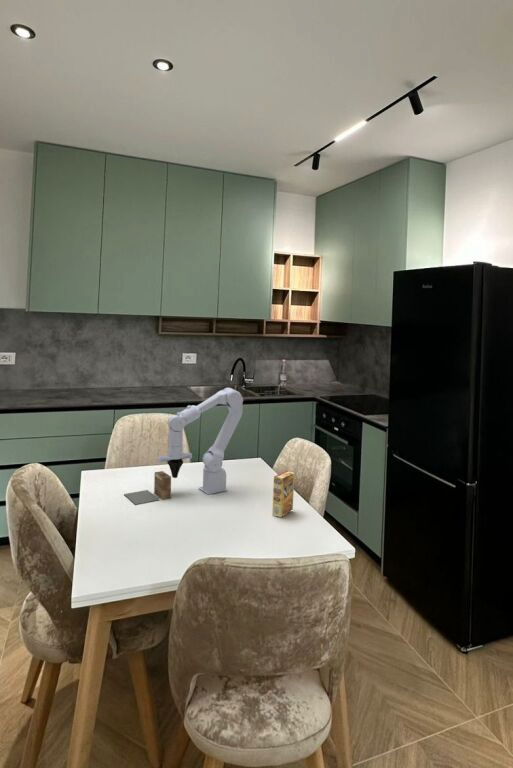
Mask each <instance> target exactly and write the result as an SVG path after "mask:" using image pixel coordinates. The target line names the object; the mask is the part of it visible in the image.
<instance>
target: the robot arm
mask: <svg viewBox="0 0 513 768" xmlns="http://www.w3.org/2000/svg"><path fill="white" fill-rule="evenodd" d="M243 402H244V398H243V396H242V394H241V393H240V392H239V391H238V390H235V389H233V388H232V387H225V388H224V389H221V390H219V391H217V392H216V393H215V394H213V395H211V396H210V397H208V398H207V399H205V400H204V401H202V402H201V403H199V404H197V405H194V404H193V405H190V404H189V405H187V406H186V408H185V409H183V410H182V411H177V413H176V414H173V415H170V417H169V418H168V420H167V421H166V423H167V426H168V447H167V454H165V455H161V456H158V457H157V462H158V463H159V464H161V463H165V462H166V463H167V464H168V466H169V470H170V472H171V478H173V479H177V478H178V476H179V472H180V469H182V466H183V464H184V460H185V459H186V460H187V459H193V453H191V452H183V449H184V448H183V447H184V446H183V445H184V444H183V440H184V434H183V433H184V432H183V430H184V429H185V427H186V426H188V425H189V424H190V423H192V422H194V421H195V420H197V419H199V418H200V417H201V414H202V413H204V412H206V411H207V410H209V409H211V408H213V407H215V406H217V405H226V407H227V409H228V414H227V416H226V418H225V420H224V422H223V425H222V426H221V428H220V431H219V432H218V434H217V436H216V439H215V440H214V443H213V444H212V445H211V446H210V447H209V449H207V451H206V452H205V453H204V454H203V455H202V458H201V459H202V463H203V468H202V469H203V470H202V471H203V472H202V486H198V489H199V490H200V491H202V492H203V493H204V494H207V495H212V494H215V493H221V492H226V491H228V489H227V472H226V469H224V468H223V460H224V459H225V450H226V448H227V446H228V444H229V442H230V440H231V438H232V437H233V433H234V432H235V430H236V428H237V426H238V424H239V422H240V420H241V417H242V416H243V408H244V407H243Z"/></svg>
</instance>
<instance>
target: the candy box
mask: <svg viewBox="0 0 513 768" xmlns="http://www.w3.org/2000/svg"><path fill="white" fill-rule="evenodd" d="M294 487H295V472H294V471H293V472H292V471H288V470H285V471H283V472H280V473H278V474H277V475H276V474H275V476H273V492H272V494H273V495H272V513H271V514H272V516H273V515H275V517H277V516H278V517H277V518H280V517H281V518H283V517H285V516H286V515H288V514H289V513H288V512H290V511H291V510H293V509H294V508H293V507H294ZM287 513H288V514H287ZM290 513H291V512H290ZM285 514H286V515H285ZM284 515H285V516H284ZM282 516H283V517H282Z"/></svg>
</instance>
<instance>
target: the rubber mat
mask: <svg viewBox="0 0 513 768" xmlns="http://www.w3.org/2000/svg"><path fill="white" fill-rule="evenodd" d="M123 496H125V497H126V499H128V500H129V501H130V502H131V503H133V505H135V506H137V505H143V504H148V503H152V502H159V501H160V500H161V498H159V497H158V496H157V495H156V494H153V493H152V492H151V491H149V490H148V489H144V490H140V491H135V492H133V491H132V492H128V493H124V494H123Z"/></svg>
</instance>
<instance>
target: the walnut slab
mask: <svg viewBox="0 0 513 768" xmlns="http://www.w3.org/2000/svg"><path fill="white" fill-rule="evenodd" d="M153 485H154V486H153V488H154V491H153V493H154V494H153V495H155V496H156V497H157V498H159V499H160V500H162V501H165V500H169V499H171V498H172V497H171V496H172V495H171V494H172V475H170V474H168V473H166V472H165V471H163V470H160V471H155V472H154V484H153Z"/></svg>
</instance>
